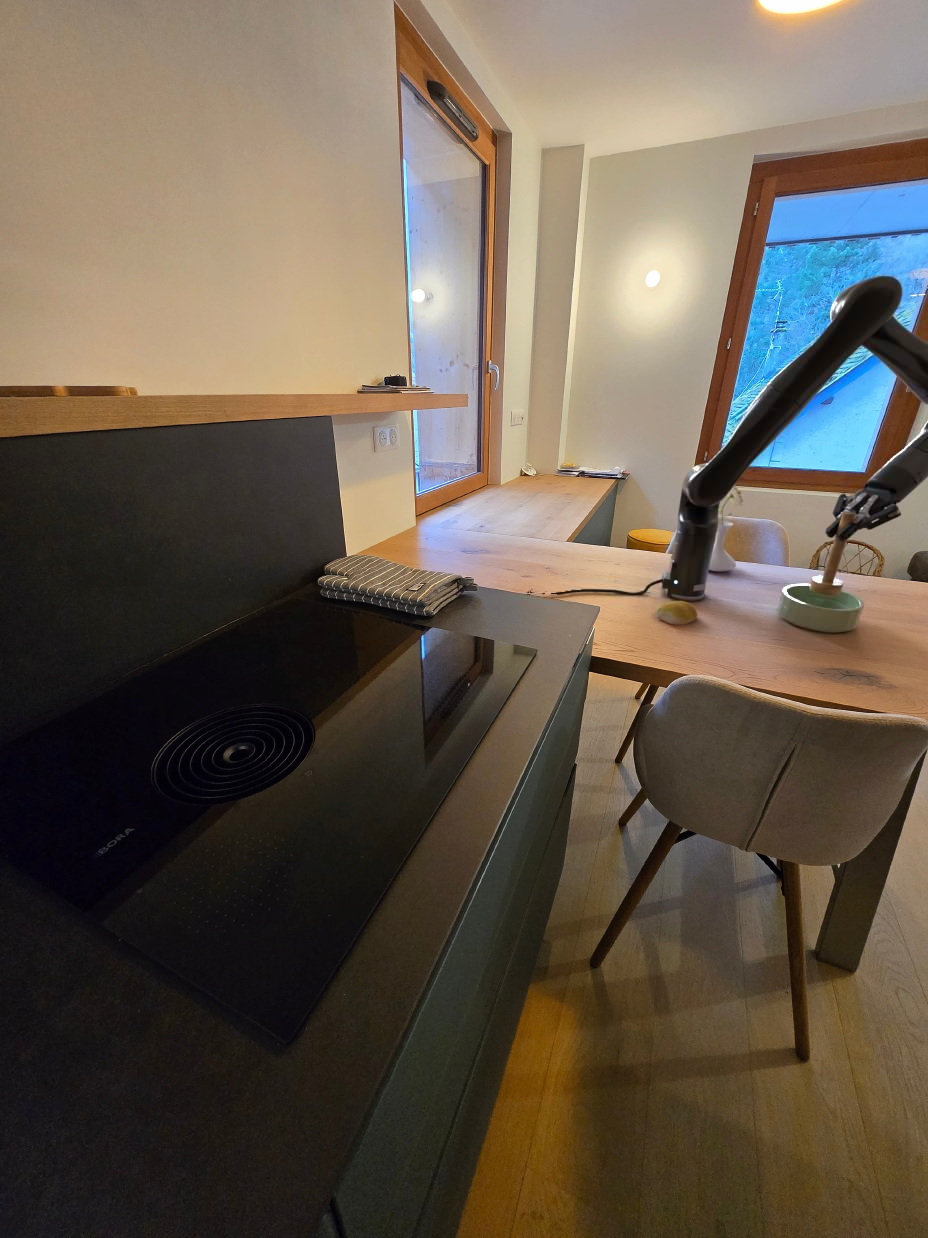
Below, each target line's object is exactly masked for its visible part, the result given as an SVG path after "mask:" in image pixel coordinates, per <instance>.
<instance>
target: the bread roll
mask: <svg viewBox="0 0 928 1238" xmlns="http://www.w3.org/2000/svg"><path fill="white" fill-rule="evenodd" d="M697 611H698V610H697V609H696V607H695V606H694V605H693V604H691V603H690V602H688V601H686V600H673V601H669V602H666V603H663V604H660V605H659V606H658V607H657V609H656V611H655V614H656V617H657V618H658V619H660V620H661V621H663V622H665V623H668V624H671V625H686V624H689V623H692V622H694V621H695V620H696V619H697V618H698V612H697Z"/></svg>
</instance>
